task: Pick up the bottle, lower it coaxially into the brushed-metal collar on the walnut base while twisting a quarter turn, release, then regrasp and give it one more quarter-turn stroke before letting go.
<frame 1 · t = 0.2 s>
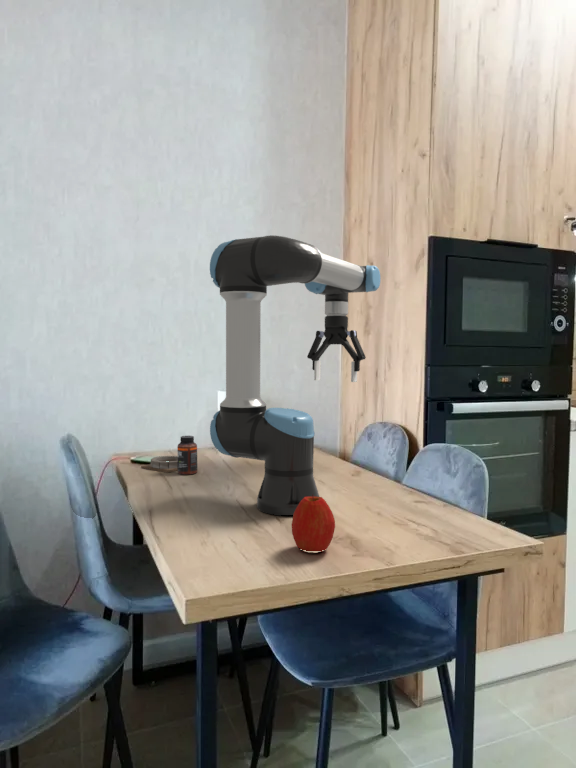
hand: (335, 381, 177), 28 cm above the table, tool pointing down, fingers open, 13 cm apart
socket: (168, 466, 174), on the table
supplement bottle: (187, 473, 166), on the table
apple: (313, 550, 102), on the table
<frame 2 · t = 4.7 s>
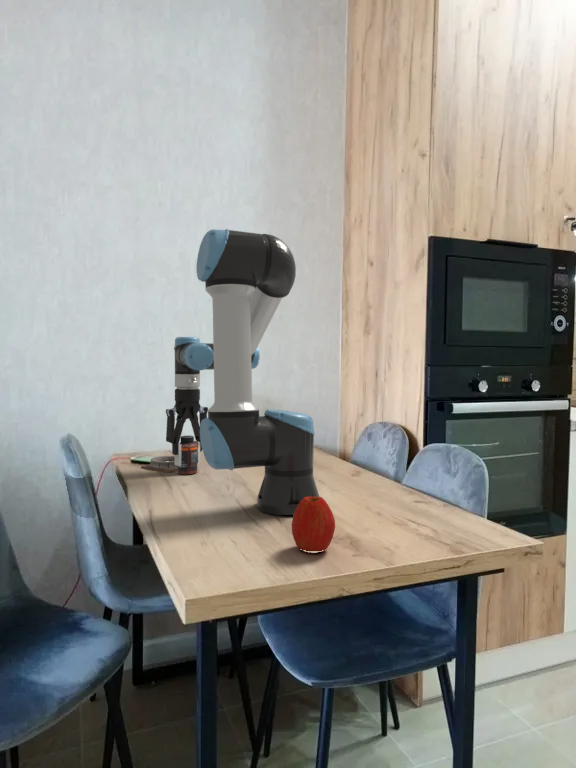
hand: (187, 463, 165), 3 cm above the table, tool pointing down, fingers closed on supplement bottle, 6 cm apart
supplement bottle: (187, 473, 166), on the table, touching gripper
everything else where it was.
when the fingers open (5 cm above the table, at t = 9.2 s): supplement bottle drops 1 cm, resting on socket.
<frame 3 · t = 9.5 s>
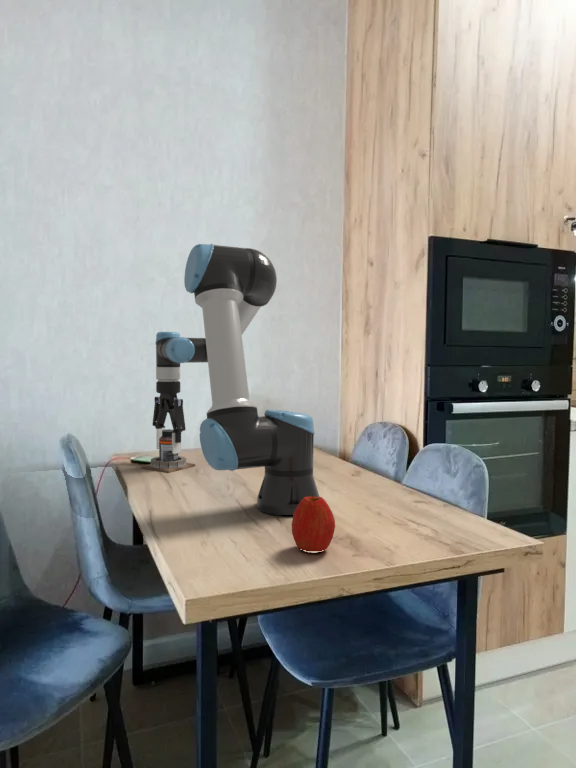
hand: (168, 450, 174), 5 cm above the table, tool pointing down, fingers open, 9 cm apart
supplement bottle: (168, 465, 174), resting on socket
everything else where it was.
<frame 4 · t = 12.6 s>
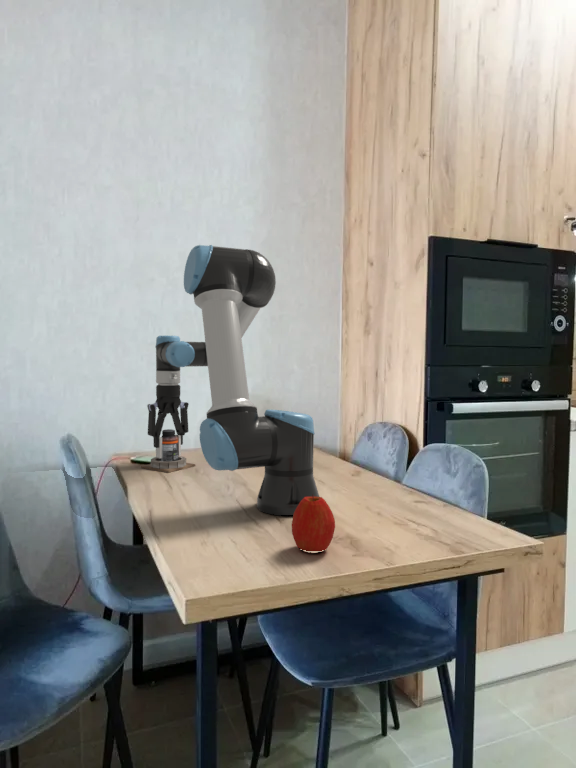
hand: (168, 456, 174), 3 cm above the table, tool pointing down, fingers closed on supplement bottle, 6 cm apart
supplement bottle: (168, 465, 174), resting on socket, touching gripper
everything else where it was.
when the fingers open (4 cm above the table, at t = 14.3 s): supplement bottle stays where it is, resting on socket.
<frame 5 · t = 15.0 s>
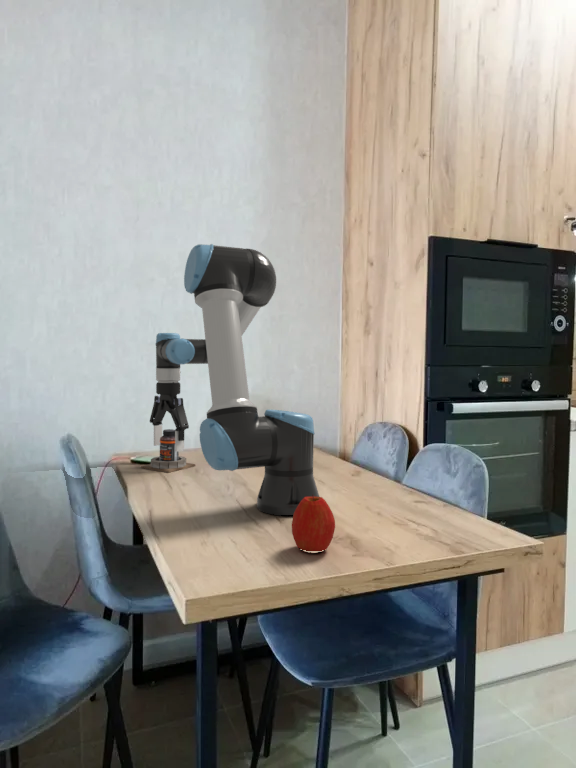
hand: (168, 448, 174), 6 cm above the table, tool pointing down, fingers open, 13 cm apart
supplement bottle: (169, 465, 174), resting on socket
everything else where it was.
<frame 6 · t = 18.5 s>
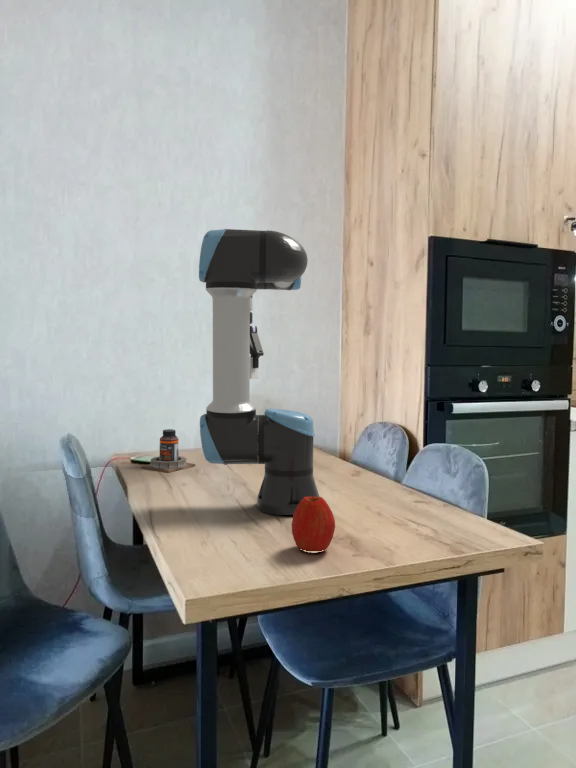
hand: (240, 378, 174), 29 cm above the table, tool pointing down, fingers open, 13 cm apart
nothing on the table moved.
at the end: supplement bottle 0.2 cm from the socket (horizontally); supplement bottle tilted 0°; the gripper is holding nothing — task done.
